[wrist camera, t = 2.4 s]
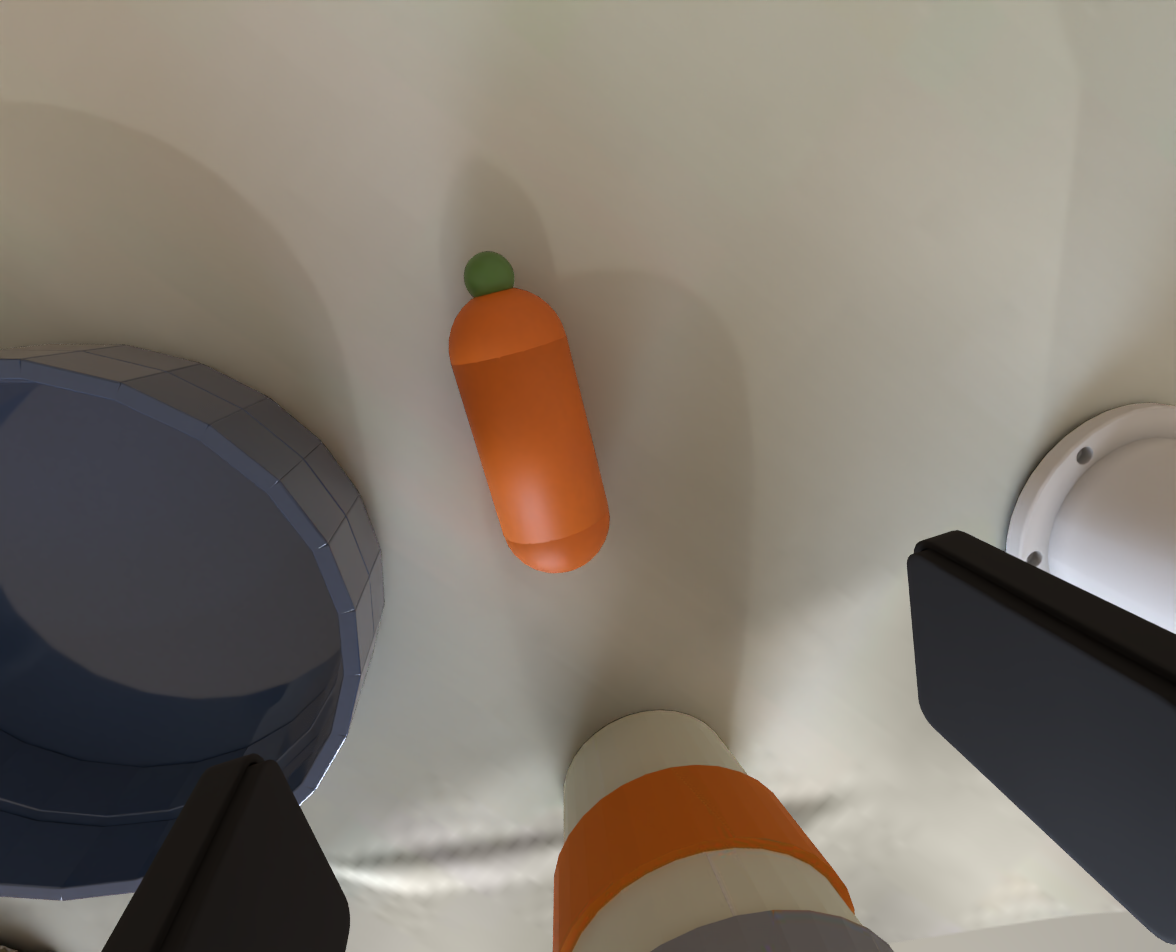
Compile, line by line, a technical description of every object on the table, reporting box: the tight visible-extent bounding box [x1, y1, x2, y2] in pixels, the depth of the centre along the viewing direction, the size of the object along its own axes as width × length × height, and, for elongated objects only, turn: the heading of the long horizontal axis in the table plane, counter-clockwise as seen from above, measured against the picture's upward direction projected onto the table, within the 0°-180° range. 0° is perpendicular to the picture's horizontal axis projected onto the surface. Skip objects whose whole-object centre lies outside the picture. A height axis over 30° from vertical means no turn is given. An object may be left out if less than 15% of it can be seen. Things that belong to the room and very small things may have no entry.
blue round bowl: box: [0, 344, 385, 901], centre depth 23 cm, size 19×19×6 cm
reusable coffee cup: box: [553, 710, 893, 952], centre depth 25 cm, size 13×13×15 cm
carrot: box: [449, 251, 610, 573], centre depth 24 cm, size 13×4×4 cm, turn 14°
